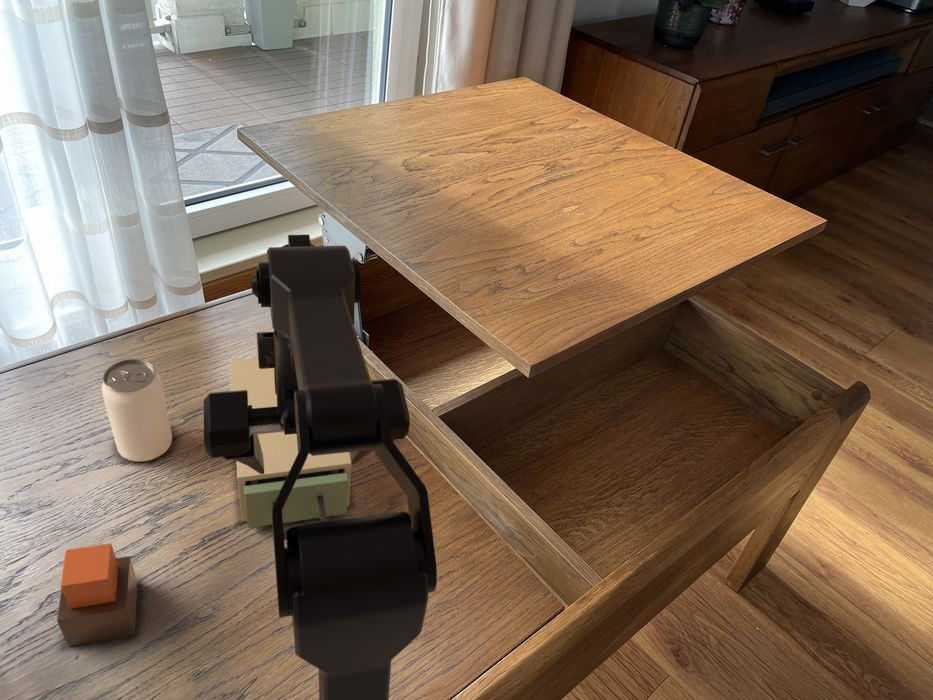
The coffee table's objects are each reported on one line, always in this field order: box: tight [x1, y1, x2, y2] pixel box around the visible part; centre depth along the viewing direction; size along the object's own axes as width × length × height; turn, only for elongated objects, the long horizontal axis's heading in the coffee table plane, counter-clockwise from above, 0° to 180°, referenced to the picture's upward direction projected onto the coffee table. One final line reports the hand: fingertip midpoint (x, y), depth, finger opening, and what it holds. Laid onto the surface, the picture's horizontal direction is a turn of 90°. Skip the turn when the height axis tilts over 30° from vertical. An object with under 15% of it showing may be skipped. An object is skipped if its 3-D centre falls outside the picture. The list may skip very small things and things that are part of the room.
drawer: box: [244, 469, 348, 541], centre depth 87 cm, size 23×11×6 cm, turn 16°
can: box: [101, 358, 173, 463], centre depth 87 cm, size 6×6×12 cm
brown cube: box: [56, 555, 139, 647], centre depth 72 cm, size 6×6×5 cm
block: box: [60, 543, 118, 609], centre depth 69 cm, size 4×4×4 cm
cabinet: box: [229, 357, 352, 522], centre depth 90 cm, size 20×13×8 cm, turn 16°
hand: (308, 465), depth 74 cm, fingers open, 9 cm apart
